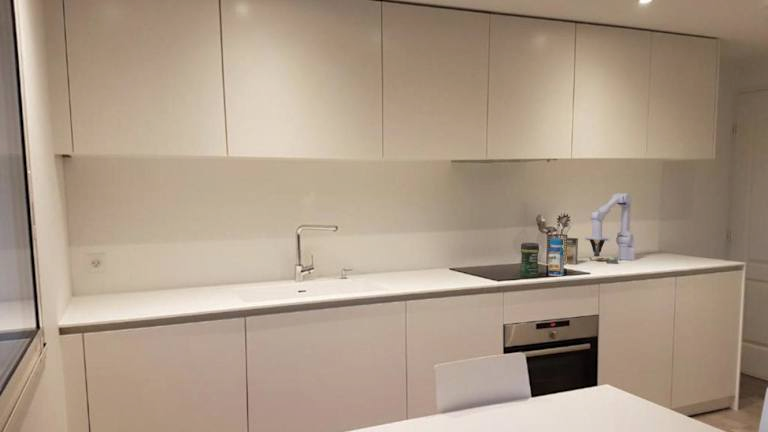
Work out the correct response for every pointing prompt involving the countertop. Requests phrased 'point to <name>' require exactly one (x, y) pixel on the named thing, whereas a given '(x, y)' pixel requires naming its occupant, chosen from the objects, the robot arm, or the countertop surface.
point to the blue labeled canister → (556, 258)
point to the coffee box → (572, 250)
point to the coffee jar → (529, 260)
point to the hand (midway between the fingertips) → (596, 251)
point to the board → (597, 259)
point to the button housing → (612, 261)
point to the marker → (596, 248)
